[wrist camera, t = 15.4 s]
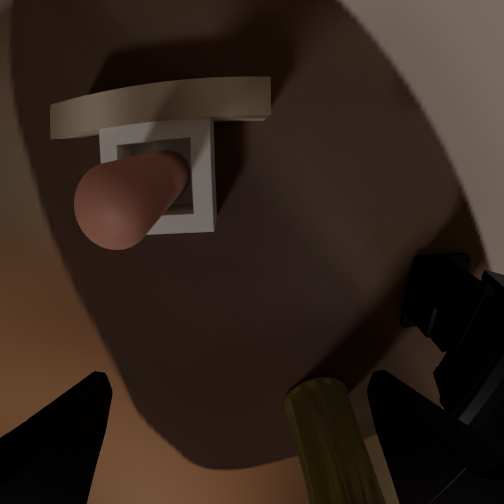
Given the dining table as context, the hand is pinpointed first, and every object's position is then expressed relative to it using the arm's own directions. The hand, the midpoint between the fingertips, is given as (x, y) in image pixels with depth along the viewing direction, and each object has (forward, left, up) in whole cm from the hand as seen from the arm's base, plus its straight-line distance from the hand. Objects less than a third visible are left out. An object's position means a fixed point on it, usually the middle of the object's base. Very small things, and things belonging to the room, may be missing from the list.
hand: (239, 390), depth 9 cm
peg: (+4, -6, -12) cm, 13 cm away
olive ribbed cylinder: (-7, +15, -12) cm, 21 cm away
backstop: (+4, -10, -12) cm, 16 cm away
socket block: (+4, -6, -12) cm, 14 cm away
